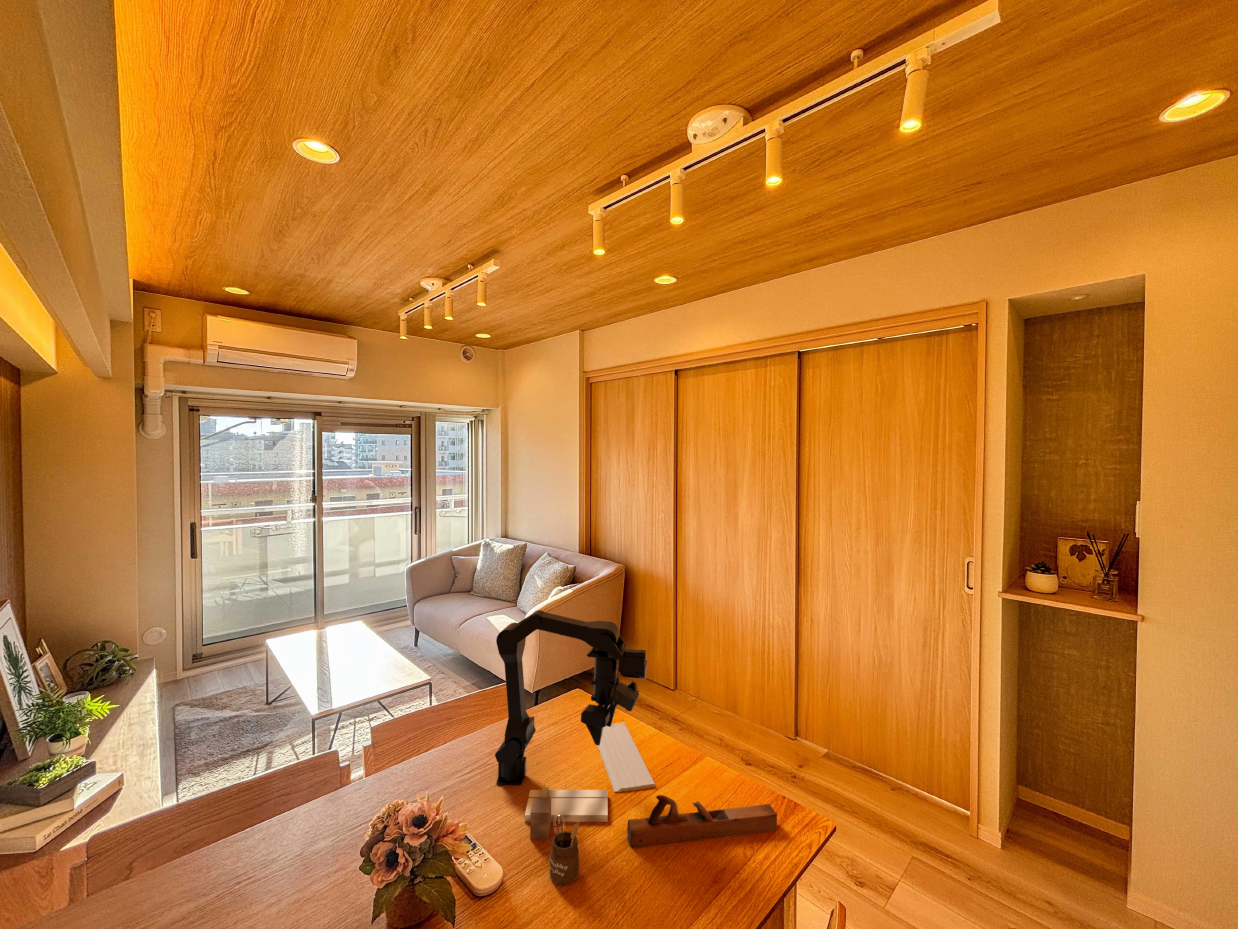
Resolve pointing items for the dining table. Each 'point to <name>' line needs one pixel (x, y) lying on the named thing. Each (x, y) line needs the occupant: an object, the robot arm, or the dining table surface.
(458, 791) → the dining table surface
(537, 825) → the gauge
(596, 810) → the board
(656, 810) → the hand plane
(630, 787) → the baseboard molding
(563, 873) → the utensil holder
